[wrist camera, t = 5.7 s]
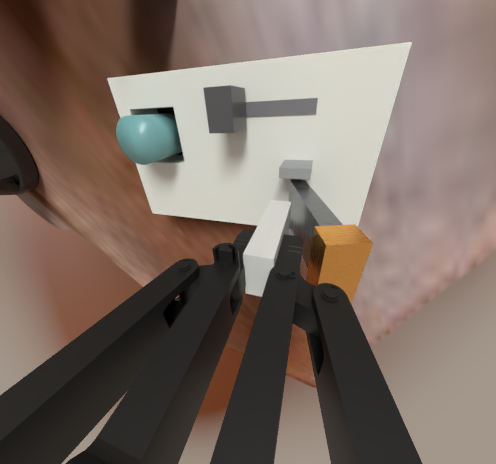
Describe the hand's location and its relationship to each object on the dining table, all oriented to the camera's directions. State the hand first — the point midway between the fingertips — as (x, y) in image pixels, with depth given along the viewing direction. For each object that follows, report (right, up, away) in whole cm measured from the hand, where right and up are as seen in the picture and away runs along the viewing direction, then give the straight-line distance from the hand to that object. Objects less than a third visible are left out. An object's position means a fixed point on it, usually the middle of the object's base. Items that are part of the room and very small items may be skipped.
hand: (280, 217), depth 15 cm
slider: (-3, +9, +2) cm, 10 cm away
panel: (-3, +8, +7) cm, 11 cm away
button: (-11, +10, +7) cm, 16 cm away
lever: (+2, +2, +3) cm, 4 cm away
